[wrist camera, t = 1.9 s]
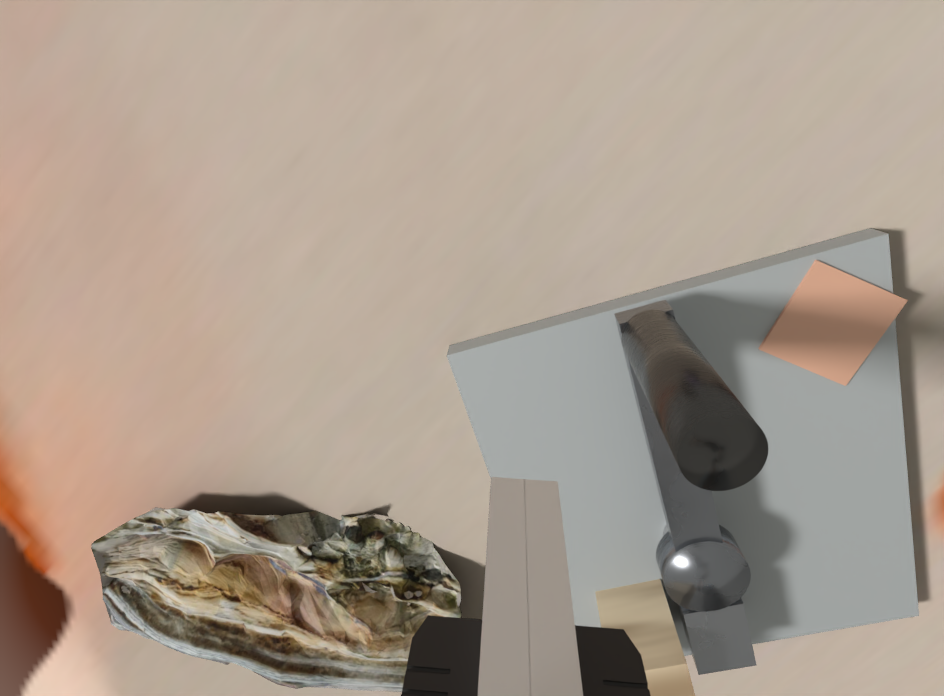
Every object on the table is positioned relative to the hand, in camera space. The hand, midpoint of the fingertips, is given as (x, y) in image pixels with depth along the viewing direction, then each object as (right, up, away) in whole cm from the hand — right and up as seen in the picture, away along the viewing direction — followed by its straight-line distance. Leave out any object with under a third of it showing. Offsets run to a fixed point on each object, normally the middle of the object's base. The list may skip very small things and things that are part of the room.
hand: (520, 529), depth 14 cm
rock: (-13, -11, +27) cm, 32 cm away
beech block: (+9, -12, +23) cm, 28 cm away
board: (+12, -4, +21) cm, 25 cm away
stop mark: (+17, +5, +16) cm, 24 cm away
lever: (+10, -3, +19) cm, 22 cm away
